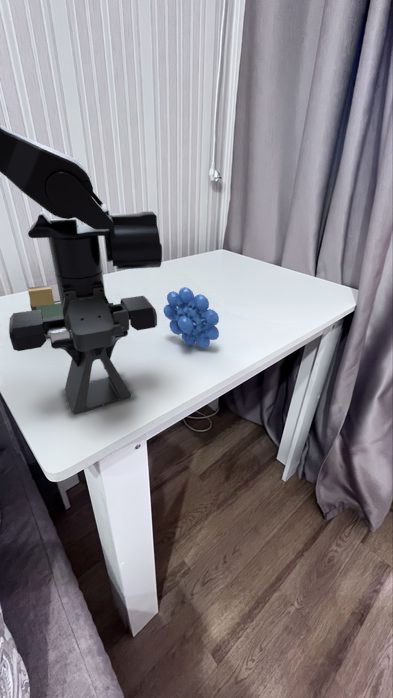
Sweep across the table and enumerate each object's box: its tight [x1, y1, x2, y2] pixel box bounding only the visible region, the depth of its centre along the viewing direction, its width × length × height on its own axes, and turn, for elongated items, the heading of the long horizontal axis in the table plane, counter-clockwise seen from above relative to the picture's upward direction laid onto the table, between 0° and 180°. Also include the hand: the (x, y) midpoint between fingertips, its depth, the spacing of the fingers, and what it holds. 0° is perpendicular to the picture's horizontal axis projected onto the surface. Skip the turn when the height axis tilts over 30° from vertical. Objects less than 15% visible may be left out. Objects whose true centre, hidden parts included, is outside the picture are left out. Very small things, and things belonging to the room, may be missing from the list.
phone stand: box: [64, 347, 132, 415], centre depth 50 cm, size 9×6×12 cm, turn 119°
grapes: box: [162, 286, 220, 348], centre depth 63 cm, size 12×7×12 cm, turn 67°
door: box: [27, 287, 63, 334], centre depth 65 cm, size 7×1×9 cm, turn 114°
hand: (94, 370), depth 50 cm, fingers closed on phone stand, 3 cm apart
